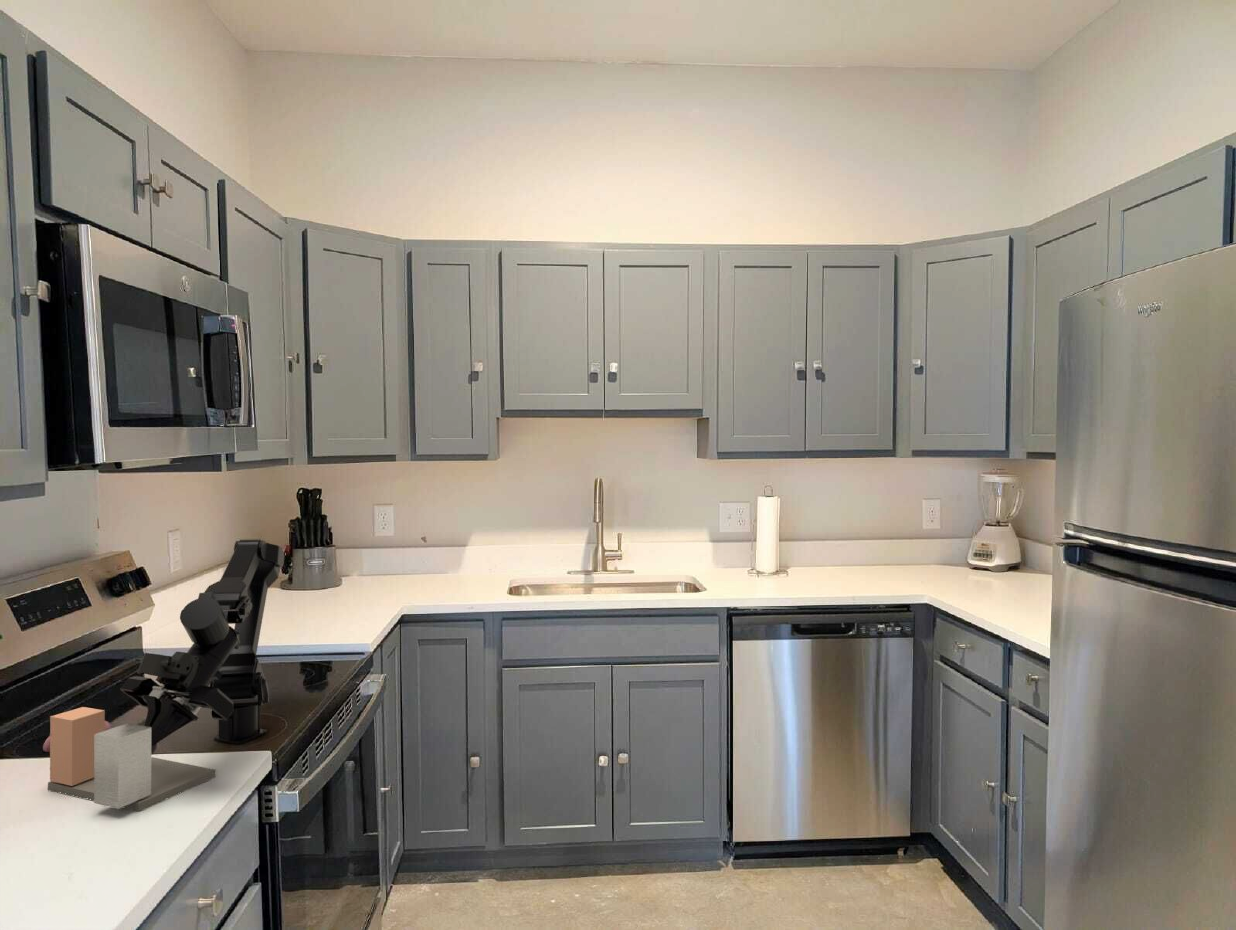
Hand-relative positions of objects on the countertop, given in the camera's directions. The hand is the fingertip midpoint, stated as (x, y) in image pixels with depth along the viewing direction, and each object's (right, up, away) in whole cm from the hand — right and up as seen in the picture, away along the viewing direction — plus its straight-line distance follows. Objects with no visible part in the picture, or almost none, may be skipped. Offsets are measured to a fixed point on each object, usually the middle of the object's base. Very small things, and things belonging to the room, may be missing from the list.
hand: (141, 749), depth 113 cm
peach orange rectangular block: (-13, -6, +5) cm, 15 cm away
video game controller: (-24, -8, +20) cm, 33 cm away
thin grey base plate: (-5, -8, +6) cm, 11 cm away
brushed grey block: (-1, -6, -3) cm, 7 cm away
